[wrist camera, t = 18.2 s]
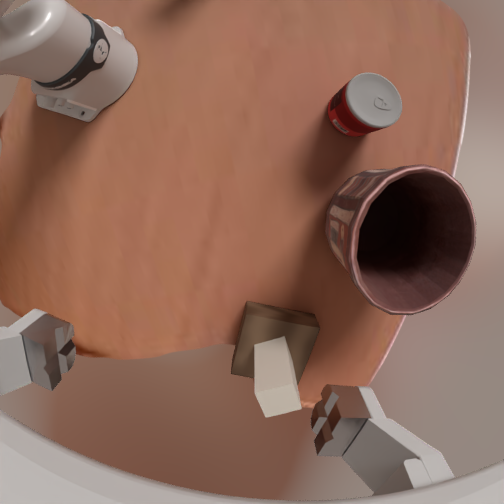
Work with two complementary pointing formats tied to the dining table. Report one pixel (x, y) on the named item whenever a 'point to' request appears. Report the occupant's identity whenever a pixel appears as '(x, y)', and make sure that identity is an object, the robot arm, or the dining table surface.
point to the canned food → (365, 105)
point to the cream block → (275, 378)
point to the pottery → (402, 235)
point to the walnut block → (274, 336)
